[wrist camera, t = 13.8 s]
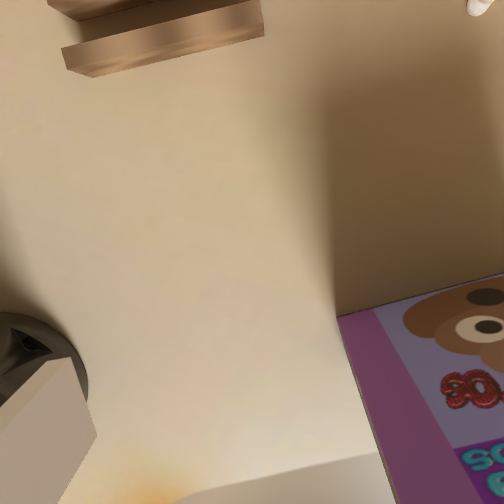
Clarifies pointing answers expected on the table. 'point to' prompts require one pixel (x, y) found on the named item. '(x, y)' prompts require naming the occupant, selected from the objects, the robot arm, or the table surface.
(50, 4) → the rail
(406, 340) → the cereal box
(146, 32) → the brown flat block
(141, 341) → the table surface
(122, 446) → the table surface
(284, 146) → the table surface
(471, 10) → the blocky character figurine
